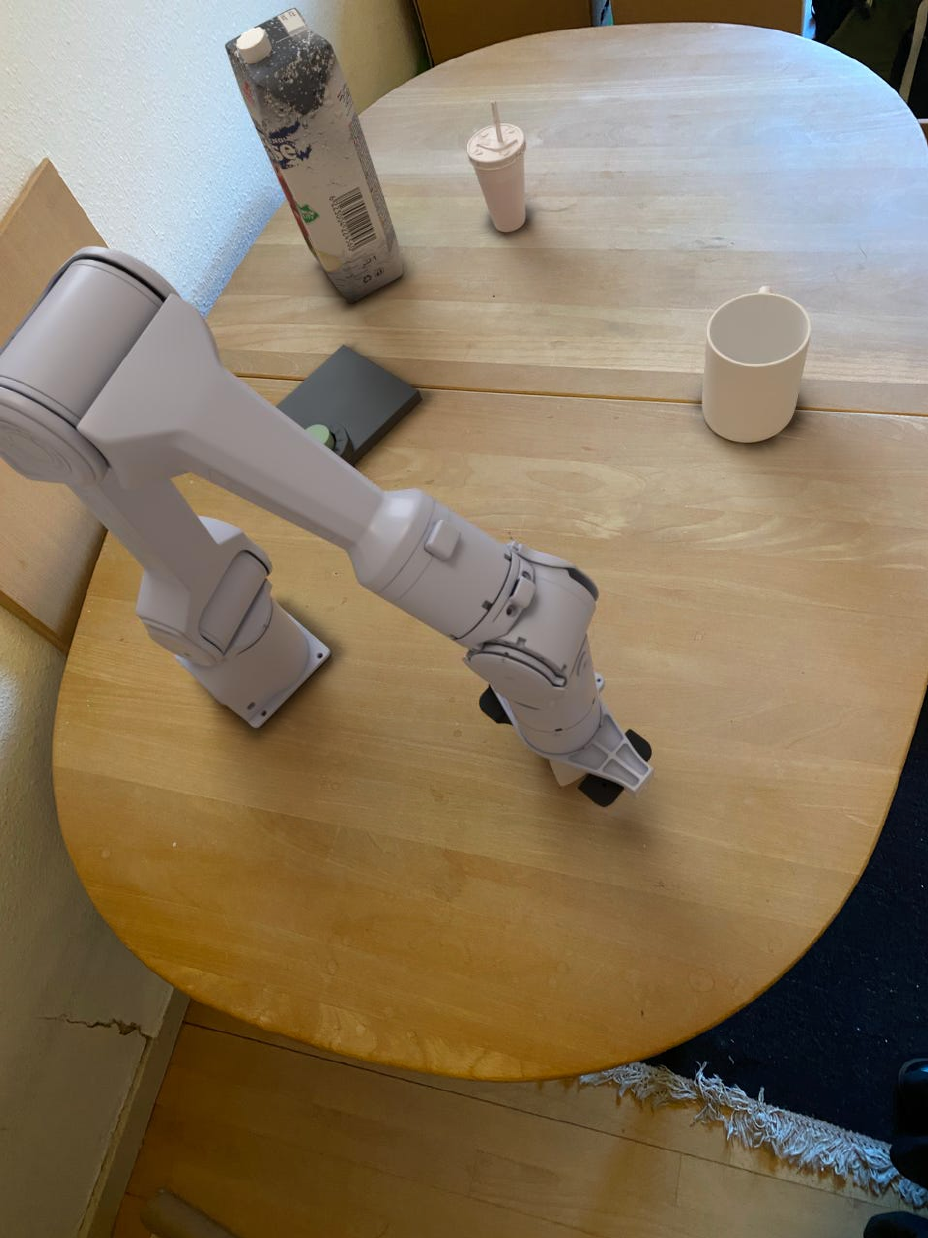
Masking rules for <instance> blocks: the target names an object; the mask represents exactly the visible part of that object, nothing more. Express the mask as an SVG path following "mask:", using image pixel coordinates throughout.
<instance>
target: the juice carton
mask: <svg viewBox="0 0 928 1238" xmlns="http://www.w3.org/2000/svg"><path fill="white" fill-rule="evenodd" d="M224 48H225V51H226V54H227V57H228V60H229V62H230V65H231V69H232V71H233V74H234V78H235V81H236V83H237V87H238V89H239V92H240V95H241V97H242V100H243V102H244V104H245V107H246V109H247V111H248V113H249V116H250V118H251V121H252V123H253V125H254V128H255V130H256V132H257V134H258V136H259V139H260V141H261V144H262V146H263V148H264V150H265V153H266V155H267V157H268V160H269V162H270V164H271V166H272V168H273V171H274V173H275V176H276V178H277V180H278V182H279V185H280V187H281V189H282V192H283V194H284V196H285V198H286V201H287V203H288V205H289V208H290V210H291V213H292V214H293V217H294V219H295V221H296V223H297V226H298V228H299V230H300V232H301V234H302V237H303V239H304V241H305V243H306V245H307V247H308V249H309V251H310V252H311V254H312V255H313V257H314V258H315V260H316V261H317V262H318V263H319V265H320V266H321V267H322V269H323V270H324V272H325V273H326V275H327V276H328V278H329V280H330V281H331V282H332V283H333V284H334V286H335V287H336V288H337V290H338V291H339V293H340V294H341V295H342V296H343V297H344V298H345V300H346V301H347V302H349V303H352V304H353V303H355V302H357V301H360V300H361V299H362V298H364V297H366V296H368V295H369V294H371V293H373V292H374V291H376V290H378V289H380V288H382V287H384V286H385V285H388V284H390V283H392V282H393V281H395V280H398V278H400V277H402V275H403V272H404V271H403V263H402V257H401V251H400V246H399V241H398V237H397V234H396V231H395V230H396V229H395V227H394V224H393V221H392V218H391V215H390V212H389V209H388V205H387V202H386V199H385V196H384V193H383V191H382V187H381V184H380V181H379V177H378V175H377V172H376V169H375V165H374V162H373V159H372V155H371V153H370V150H369V147H368V143H367V140H366V138H365V137H366V136H365V134H364V131H363V128H362V125H361V122H360V119H359V116H358V113H357V110H356V106H355V104H354V101H353V98H352V94H351V92H350V91H351V90H350V89H349V86H348V83H347V80H346V77H345V74H344V72H343V70H342V67H341V65H340V62H339V60H338V58H337V55H336V53H335V50H334V48H333V45H332V44H331V42H329V41H328V40H327V39H326V38H325V37H324V36H321V35H319V33H317V32H315V31H314V30H313V29H311V27H310V26H309V24H308V23H307V21H306V20H305V18H304V16H303V15H302V13H301V12H300V11H299V9H298V8H296V7H291V8H289V9H286V10H285V11H283V12H281V13H279V14H277V15H275V16H273V17H271V18H269V19H267V20H265V21H264V22H262V23H260V24H258V25H256V26H254V27H251V28H249V29H248V30H247V31H244V32H242V33H241V34H239V35H237V36H235V37H234V38H232V39H230V40H228V41H227V42H226V43H225V44H224Z"/></svg>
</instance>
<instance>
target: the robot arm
mask: <svg viewBox="0 0 928 1238" xmlns="http://www.w3.org/2000/svg"><path fill="white" fill-rule="evenodd" d="M0 458H1V460H3V461H4V462H5V463H6V464H7V465H8V466H9V467H10V469H12V470H13V471H14V472H16V473H17V474H19V475H20V476H22V477H24V478H25V479H26V480H30V481H34V482H43V483H52V484H60V485H61V484H62V485H66V486H67V488H68V489H69V490H70V491H71V492H72V493H73V494H74V495H75V496H76V497H77V499H78V500H80V501H81V503H82V504H84V506H85V507H86V508H87V509H88V511H90V513H92V514H93V515H94V517H96V519H97V520H99V522H100V523H101V524H102V525H103V526H104V527H105V528H106V529H107V531H109V532H110V534H112V535H113V536H114V538H115V539H116V540H117V541H118V542H119V544H121V545H122V547H124V548H125V549H126V551H127V552H129V554H130V555H131V556H132V557H133V558H134V559H135V560H136V562H137V563H139V565H140V566H141V567H143V572H142V578H141V582H140V586H139V587H140V588H139V592H138V597H137V601H136V608H135V615H136V616H137V617H138V618H140V620H141V622H142V624H143V625H144V628H145V630H146V632H147V635H148V637H149V638H150V639H151V640H152V641H153V642H155V643H156V644H157V645H159V646H160V647H161V648H163V649H165V650H166V651H168V652H170V653H172V654H174V655H173V657H174V659H175V660H176V661H177V663H179V665H181V666H182V668H183V669H185V670H186V671H187V673H189V674H190V675H191V676H192V677H193V678H194V679H195V680H196V681H197V682H198V683H199V684H200V685H201V686H203V688H205V689H206V690H207V691H208V692H209V694H210V695H211V696H212V697H213V698H214V699H215V700H217V701H218V702H219V703H220V704H221V705H222V706H226V707H228V708H229V709H230V710H232V711H233V712H234V713H235V714H236V715H238V716H239V717H241V718H242V719H243V720H244V721H246V722H247V723H248V724H249V726H251V727H252V728H254V729H259V728H261V727H262V726H263V725H264V723H266V722H267V720H268V719H270V717H271V716H273V715H274V714H275V712H276V711H277V710H278V709H280V708H281V706H282V705H283V704H284V703H285V702H286V701H287V700H289V698H291V696H292V695H293V694H294V693H295V692H296V691H297V690H298V689H299V688H300V686H302V685H303V684H304V683H305V681H307V679H308V678H310V676H312V675H313V673H315V672H316V670H317V669H318V668H319V667H320V666H321V665H322V664H323V663H324V662H325V661H326V660H327V659H328V658H329V657H330V656H331V650H330V649H329V648H328V647H327V646H326V645H325V643H323V642H322V641H321V640H319V639H318V638H317V637H316V636H315V635H314V634H313V633H311V632H310V631H309V630H308V629H307V628H306V627H305V626H304V625H302V624H301V623H300V622H299V621H297V620H296V619H295V618H294V617H293V616H292V615H291V614H290V613H288V612H287V611H286V610H285V609H284V608H282V606H281V605H280V604H279V603H278V602H277V601H276V599H275V598H274V597H273V596H272V595H271V592H272V589H273V584H272V583H271V581H270V580H269V579H268V578H267V577H268V576H269V575H271V573H272V571H273V570H274V569H273V568H274V566H273V563H272V561H271V560H270V557H269V555H268V553H267V552H266V551H265V550H264V549H263V548H262V547H261V546H260V545H259V544H258V543H257V542H254V540H252V539H250V537H248V536H247V534H246V533H245V532H244V531H243V530H242V529H241V528H240V527H238V526H237V525H233V524H231V523H229V522H226V521H224V520H221V519H217V518H214V517H210V516H204V515H203V516H202V515H198V514H197V513H196V512H195V511H194V510H193V508H192V507H191V505H190V504H189V502H188V501H187V499H186V498H185V497H184V495H183V494H182V493H181V492H180V490H179V489H178V487H177V486H176V484H175V483H174V481H172V479H173V478H176V477H179V476H182V475H186V474H189V473H192V474H193V475H195V476H196V477H197V476H198V477H199V478H201V479H203V480H205V481H207V482H209V483H211V484H213V485H215V486H217V487H219V488H220V489H223V490H224V491H227V492H229V493H231V494H233V495H235V496H237V497H239V498H241V499H242V500H244V501H247V502H249V503H250V504H253V505H254V506H257V507H258V508H261V509H262V510H265V511H267V512H268V513H271V514H273V515H274V516H276V517H279V518H281V519H282V520H285V521H286V522H288V523H291V524H292V525H295V526H297V527H299V528H301V529H302V530H304V531H305V532H308V533H310V534H312V535H315V536H316V537H318V538H320V539H323V540H324V541H326V542H328V543H330V544H332V545H334V546H335V547H338V548H339V549H343V550H344V551H345V552H346V553H347V556H348V558H349V561H350V563H351V566H352V569H353V572H354V576H355V578H356V580H357V582H358V585H360V586H361V587H363V588H365V589H366V590H368V591H370V592H371V593H373V594H374V595H376V596H378V597H380V598H381V599H383V600H384V601H385V602H387V603H389V604H391V605H393V606H395V608H398V609H399V610H401V611H403V612H404V613H406V614H408V615H409V616H411V617H413V618H414V619H416V620H418V621H419V622H421V623H423V625H426V626H427V627H429V628H431V629H433V630H434V631H436V632H438V633H439V634H441V635H442V636H444V637H446V638H447V639H450V640H451V641H452V642H454V643H456V644H457V645H459V646H461V647H463V648H466V649H467V650H468V651H466V654H465V657H461V661H462V662H463V663H464V665H465V666H466V667H467V668H469V670H471V671H472V672H473V673H474V674H476V675H477V676H478V677H480V678H481V679H482V680H483V681H485V682H487V683H488V687H487V688H486V689H485V691H483V692H482V694H481V695H480V696H479V699H478V706H479V709H480V710H481V711H482V713H483V714H485V715H486V716H488V718H490V719H491V720H492V721H493V722H495V723H496V724H498V725H510V726H513V727H514V730H515V731H516V733H517V734H518V736H519V739H520V740H521V741H522V743H523V744H524V745H525V746H526V747H527V749H528V750H530V751H531V752H533V753H534V754H536V755H537V756H539V757H542V758H544V759H547V760H549V759H550V760H553V761H555V762H558V763H561V764H564V765H567V766H570V767H573V768H576V769H579V770H582V771H585V772H587V774H586V776H585V777H584V778H583V779H582V780H581V782H580V783H579V784H578V786H577V787H576V788H577V790H578V791H579V792H580V793H581V794H583V795H584V796H585V797H586V798H587V799H589V800H590V801H591V802H592V803H594V804H595V805H597V806H599V807H602V808H608V807H609V806H611V805H612V804H613V803H615V802H616V800H618V798H619V797H620V796H621V794H622V793H623V792H625V793H626V794H628V796H630V797H632V798H633V799H634V800H637V799H638V797H639V796H640V795H641V794H642V793H643V792H644V790H645V789H646V788H647V787H648V786H649V785H650V783H651V782H652V781H653V779H654V778H655V771H654V769H655V768H654V767H653V766H651V765H650V764H649V763H648V762H649V761H650V759H651V758H652V755H653V750H652V745H651V744H650V742H648V741H647V740H646V739H645V738H644V737H642V736H641V735H639V733H637V732H636V731H634V730H633V729H631V728H628V729H627V730H626V732H624V730H623V729H622V727H621V726H620V725H619V723H618V721H617V720H616V718H615V716H613V714H612V713H611V711H610V708H608V706H607V704H606V703H605V702H604V700H603V698H602V697H601V696H600V695H601V693H602V691H603V690H604V689H605V687H606V681H605V678H604V676H603V675H601V674H600V673H599V672H597V671H596V670H594V666H593V659H592V653H591V648H590V643H589V636H588V630H589V627H590V625H591V622H592V619H593V617H594V614H595V611H596V609H597V603H596V602H597V601H598V599H599V597H600V590H599V589H598V586H597V584H596V583H595V582H594V580H593V579H592V578H591V577H590V576H589V575H588V574H586V572H584V571H583V570H581V569H580V567H578V566H577V565H575V564H574V563H572V562H570V561H568V560H566V559H564V558H561V557H560V556H556V555H553V554H550V553H547V552H542V551H538V550H536V549H533V548H530V547H529V546H527V545H526V544H524V543H519V542H517V541H516V540H512V541H510V542H507V543H505V544H504V543H503V542H500V541H499V540H498V539H496V538H495V537H493V536H492V535H490V534H489V533H488V532H486V531H484V530H483V529H481V528H480V527H478V526H477V525H476V524H474V523H472V522H471V521H469V520H468V519H466V518H465V517H463V516H462V515H460V514H459V513H457V512H455V510H453V509H451V508H450V507H449V506H447V505H445V504H444V503H442V502H441V501H439V500H438V499H436V498H434V497H433V496H431V495H430V494H429V493H427V492H426V491H424V490H423V489H420V488H415V487H414V488H404V489H397V490H389V491H388V490H383V489H382V488H380V487H379V486H378V485H377V484H375V483H374V482H372V481H371V480H370V479H369V478H367V477H366V475H364V474H362V473H361V472H360V471H359V470H357V469H356V468H355V467H353V466H351V465H350V464H348V463H347V462H346V461H344V460H343V459H342V458H341V457H339V456H338V455H337V454H335V453H334V452H333V451H332V450H330V449H329V448H328V447H326V446H325V445H324V444H323V443H321V442H320V441H319V440H317V439H316V438H315V437H314V436H312V435H311V434H310V433H308V432H307V431H306V430H305V429H303V428H302V427H301V426H299V425H298V424H297V423H296V422H294V421H293V420H292V419H290V418H289V417H288V416H287V415H285V414H284V413H283V412H281V411H280V410H279V409H278V408H276V405H274V404H273V403H271V402H270V401H268V399H266V398H265V397H264V396H263V395H261V394H260V393H258V392H257V391H256V390H255V389H254V388H252V387H250V385H248V384H247V383H246V382H244V381H243V380H242V379H240V377H238V376H237V375H236V374H234V373H233V372H231V371H230V370H229V369H227V367H226V366H225V365H224V364H223V363H222V359H221V356H220V352H219V347H218V344H217V342H216V339H215V336H214V334H213V332H212V330H211V328H210V326H209V325H208V323H207V321H206V319H205V318H204V316H203V315H202V313H201V311H200V310H199V308H197V307H196V306H195V305H193V304H192V303H190V302H189V301H186V300H185V299H184V298H182V296H181V295H180V294H179V292H178V291H177V290H176V289H175V288H174V286H173V285H172V284H171V283H170V282H169V281H168V280H167V279H166V278H165V277H164V276H163V275H161V273H159V272H157V271H156V270H155V269H154V268H153V267H151V266H150V265H148V263H147V264H146V262H144V261H142V260H140V259H138V258H137V257H135V256H132V255H131V254H128V253H126V252H123V251H120V250H117V249H111V248H108V247H104V246H97V245H88V246H83V247H82V248H80V249H79V250H77V251H76V252H74V254H72V255H71V256H70V257H69V258H67V260H66V261H64V263H62V264H61V266H60V267H59V268H58V269H57V271H56V272H55V273H54V275H53V276H52V277H51V278H50V279H49V281H48V283H47V285H46V287H45V288H44V289H43V291H42V293H41V294H40V296H39V297H38V299H37V301H35V303H34V305H33V306H32V307H31V309H30V310H29V311H28V312H27V313H26V314H25V316H24V318H23V319H22V320H21V321H20V322H19V324H18V325H17V327H16V328H15V329H14V330H13V332H12V333H11V334H10V336H9V337H8V338H7V340H6V341H5V342H4V344H3V345H2V346H1V347H0ZM320 656H322V657H320ZM264 713H265V714H264Z"/></svg>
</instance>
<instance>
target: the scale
mask: <svg viewBox="0 0 928 1238" xmlns="http://www.w3.org/2000/svg"><path fill="white" fill-rule="evenodd" d="M422 399H423V397H422V395H421V392H420V390H419V388H416V387H415V386H413V385H411V384H409V383H408V382H406V381H405V380H403V379H402V378H400V377H398V376H396V375H394V374H393V373H392V372H390V371H388V370H387V369H385V368H383V367H381V365H378V364H377V363H376V362H373V361H372V360H370V359H369V358H367V357H365V356H364V355H362V354H360V353H358V352H357V351H355V350H354V349H352V348H350V347H349V346H347V345H345V344H342V345H341V346H340V347H339V348H338V349H337V350H335V351H334V352H333V353H332V354H331V355H330V356H329V357H328V358H327V359H325V361H324V362H323V363H321V364H320V365H319V366H318V367H317V368H316V369H315V370H314V371H313V372H312V373H310V375H308V376H307V377H306V378H305V379H304V380H303V381H302V382H301V383H299V384H298V386H297V387H295V388H294V389H293V390H292V391H291V392H290V393H288V395H286V396H285V398H283V399H282V400H281V401H280V402H279V403H278V404H277V405H275V407H276V408H278V409H279V410H280V411H281V412H283V413H284V414H285V415H287V416H288V417H289V418H290V419H292V420H293V421H294V422H296V423H297V424H298V425H299V426H301V427H302V428H303V429H305V430H306V429H307V428H309V427H310V426H313V425H324V426H325V427H327V428H328V430H329V431H330V433H331V435H332V437H333V439H334V447H333V449H332V451H333V452H334V453H335V454H337V455H338V456H339V457H341V458H342V459H343V460H344V461H346V462H347V463H348V464H350V465H351V466H352V467H353V466H354V465H356V463H358V462H359V461H360V459H361V458H363V457H364V456H365V455H366V454H367V453H368V452H369V451H370V450H371V449H372V448H373V447H374V446H375V445H376V444H377V443H378V442H379V441H380V440H381V439H383V437H385V436H386V435H387V434H388V432H390V431H391V430H392V428H394V427H395V426H396V425H397V424H398V423H399V422H400V421H401V420H403V418H404V417H405V416H406V415H408V413H409V412H410V411H412V410H413V409H414V408H415V407H416V406H417V405H418V404H419V402H421V401H422Z"/></svg>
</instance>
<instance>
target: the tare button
mask: <svg viewBox="0 0 928 1238" xmlns="http://www.w3.org/2000/svg"><path fill="white" fill-rule="evenodd" d="M306 431H307V432H308V433H310V434H311V435H312V436H314V437H315V438H316V439H317V440H319V441H320V442H321V443H323V444H324V445H325V446H326V447H328V448H329V449H330V450H332V449H333V447H334V439H333V437H332V435H331V433H330V431H329V430H328V428H327V427H325V426H324V425H313V426H310V427H309V428H307V429H306Z"/></svg>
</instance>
